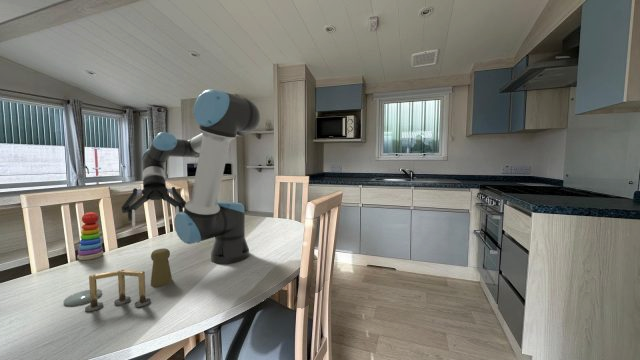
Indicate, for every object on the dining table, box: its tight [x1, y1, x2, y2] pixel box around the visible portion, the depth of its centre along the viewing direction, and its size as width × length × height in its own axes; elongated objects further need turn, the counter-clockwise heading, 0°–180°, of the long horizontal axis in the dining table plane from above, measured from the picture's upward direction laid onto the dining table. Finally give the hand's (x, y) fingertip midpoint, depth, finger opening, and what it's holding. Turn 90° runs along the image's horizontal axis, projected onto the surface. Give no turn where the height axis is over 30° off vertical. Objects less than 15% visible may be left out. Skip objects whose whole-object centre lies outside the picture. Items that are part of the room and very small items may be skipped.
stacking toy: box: [77, 211, 104, 261], centre depth 101 cm, size 8×8×19 cm
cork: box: [150, 248, 173, 288], centre depth 80 cm, size 6×6×11 cm
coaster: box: [63, 288, 103, 307], centre depth 71 cm, size 8×8×1 cm
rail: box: [84, 269, 152, 313], centre depth 67 cm, size 15×8×9 cm, turn 121°
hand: (157, 224), depth 89 cm, fingers open, 13 cm apart
